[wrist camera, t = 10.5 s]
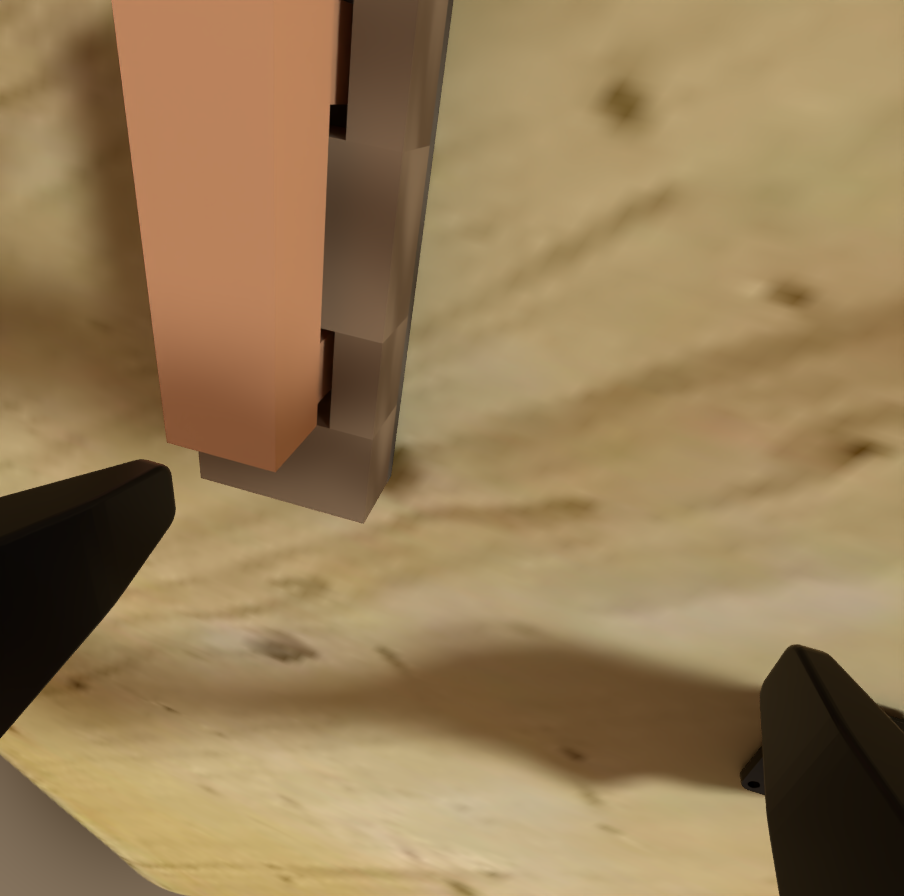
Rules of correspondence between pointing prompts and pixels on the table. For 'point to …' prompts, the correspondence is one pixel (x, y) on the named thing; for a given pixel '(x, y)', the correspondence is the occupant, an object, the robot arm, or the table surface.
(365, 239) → the rail
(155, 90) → the clip
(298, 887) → the table surface
